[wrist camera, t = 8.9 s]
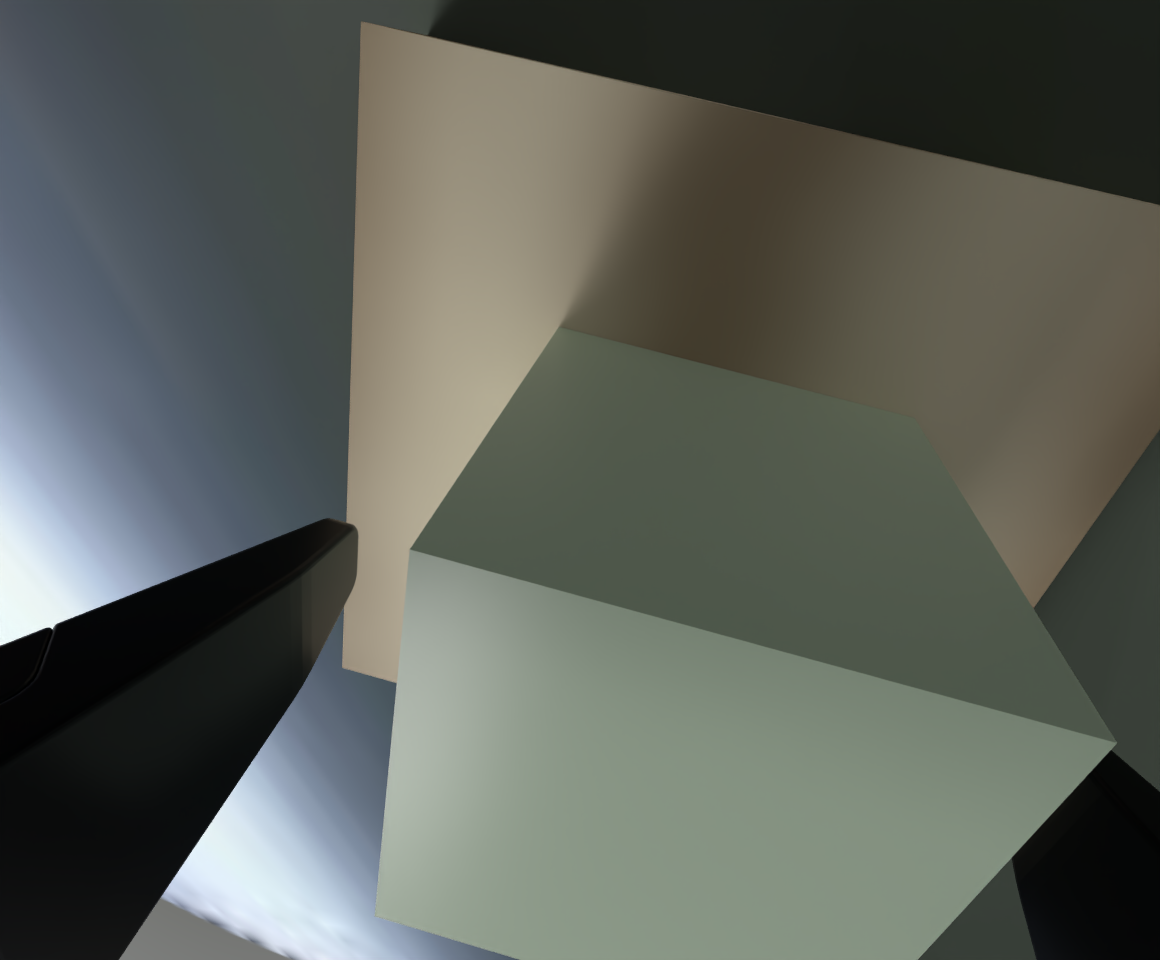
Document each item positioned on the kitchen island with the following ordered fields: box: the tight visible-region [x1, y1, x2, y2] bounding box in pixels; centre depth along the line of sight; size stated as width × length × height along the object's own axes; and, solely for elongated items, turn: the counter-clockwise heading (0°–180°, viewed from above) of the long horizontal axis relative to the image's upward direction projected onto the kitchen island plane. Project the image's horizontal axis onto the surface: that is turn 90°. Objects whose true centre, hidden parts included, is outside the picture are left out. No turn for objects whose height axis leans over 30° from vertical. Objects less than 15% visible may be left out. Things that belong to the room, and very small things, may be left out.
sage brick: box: [375, 327, 1117, 960], centre depth 9 cm, size 6×6×6 cm
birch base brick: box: [342, 21, 1160, 683], centre depth 13 cm, size 12×12×3 cm
